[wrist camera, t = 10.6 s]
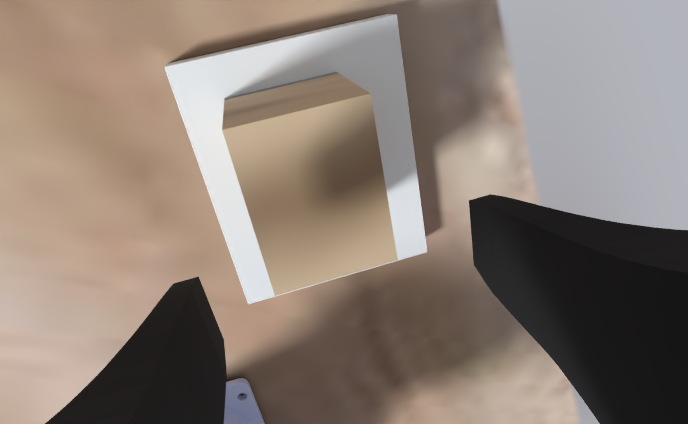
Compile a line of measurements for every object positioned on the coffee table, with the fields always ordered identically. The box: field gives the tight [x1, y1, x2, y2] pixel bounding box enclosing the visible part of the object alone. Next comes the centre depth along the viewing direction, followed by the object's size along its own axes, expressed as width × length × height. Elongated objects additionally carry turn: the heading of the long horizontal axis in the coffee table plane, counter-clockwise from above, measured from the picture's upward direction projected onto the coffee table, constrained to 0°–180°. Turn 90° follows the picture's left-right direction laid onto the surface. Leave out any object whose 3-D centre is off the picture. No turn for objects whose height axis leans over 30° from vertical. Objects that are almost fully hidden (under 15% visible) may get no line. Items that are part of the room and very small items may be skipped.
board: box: [164, 14, 427, 304], centre depth 20 cm, size 11×9×1 cm
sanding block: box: [222, 72, 398, 296], centre depth 17 cm, size 6×4×5 cm
